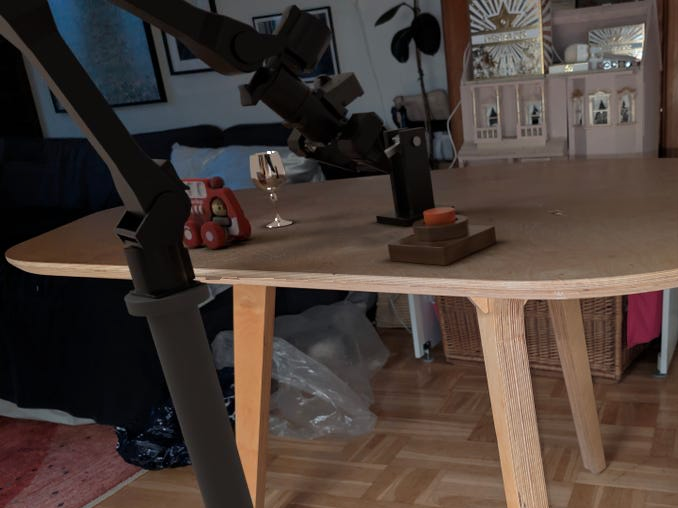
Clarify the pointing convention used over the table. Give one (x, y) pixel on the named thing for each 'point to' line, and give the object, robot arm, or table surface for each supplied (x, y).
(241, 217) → the toy fire truck
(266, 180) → the wineglass
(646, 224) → the table surface
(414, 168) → the bracket
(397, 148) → the lever
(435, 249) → the button block
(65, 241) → the table surface
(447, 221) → the button
